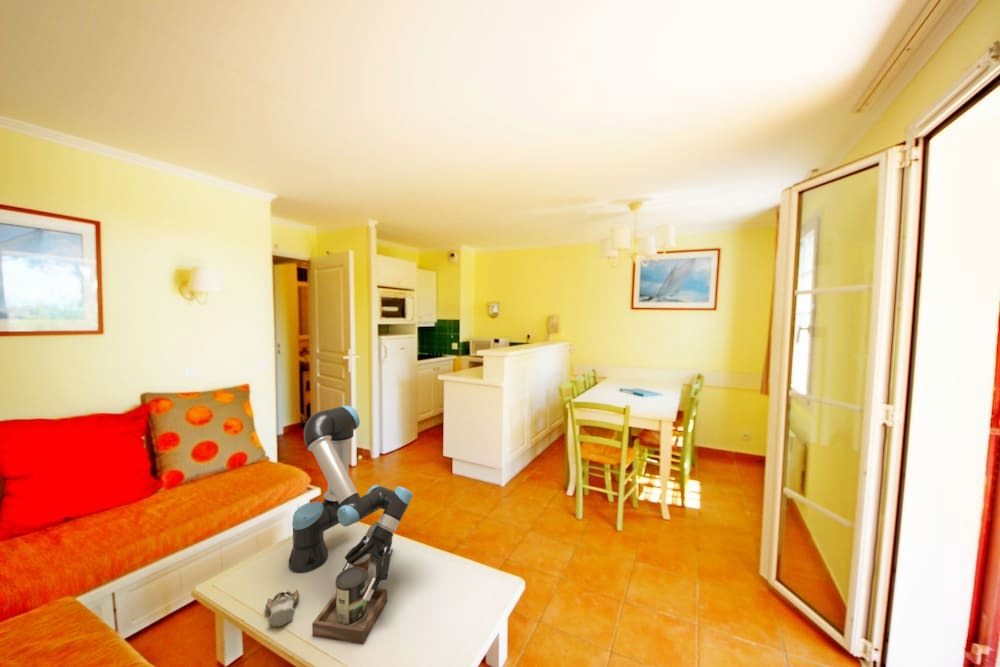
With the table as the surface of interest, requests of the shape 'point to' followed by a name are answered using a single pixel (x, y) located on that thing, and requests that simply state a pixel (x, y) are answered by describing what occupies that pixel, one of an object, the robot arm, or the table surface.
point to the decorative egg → (369, 534)
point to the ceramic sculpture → (282, 607)
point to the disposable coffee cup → (362, 561)
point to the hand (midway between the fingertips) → (352, 591)
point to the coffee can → (351, 596)
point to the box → (357, 633)
